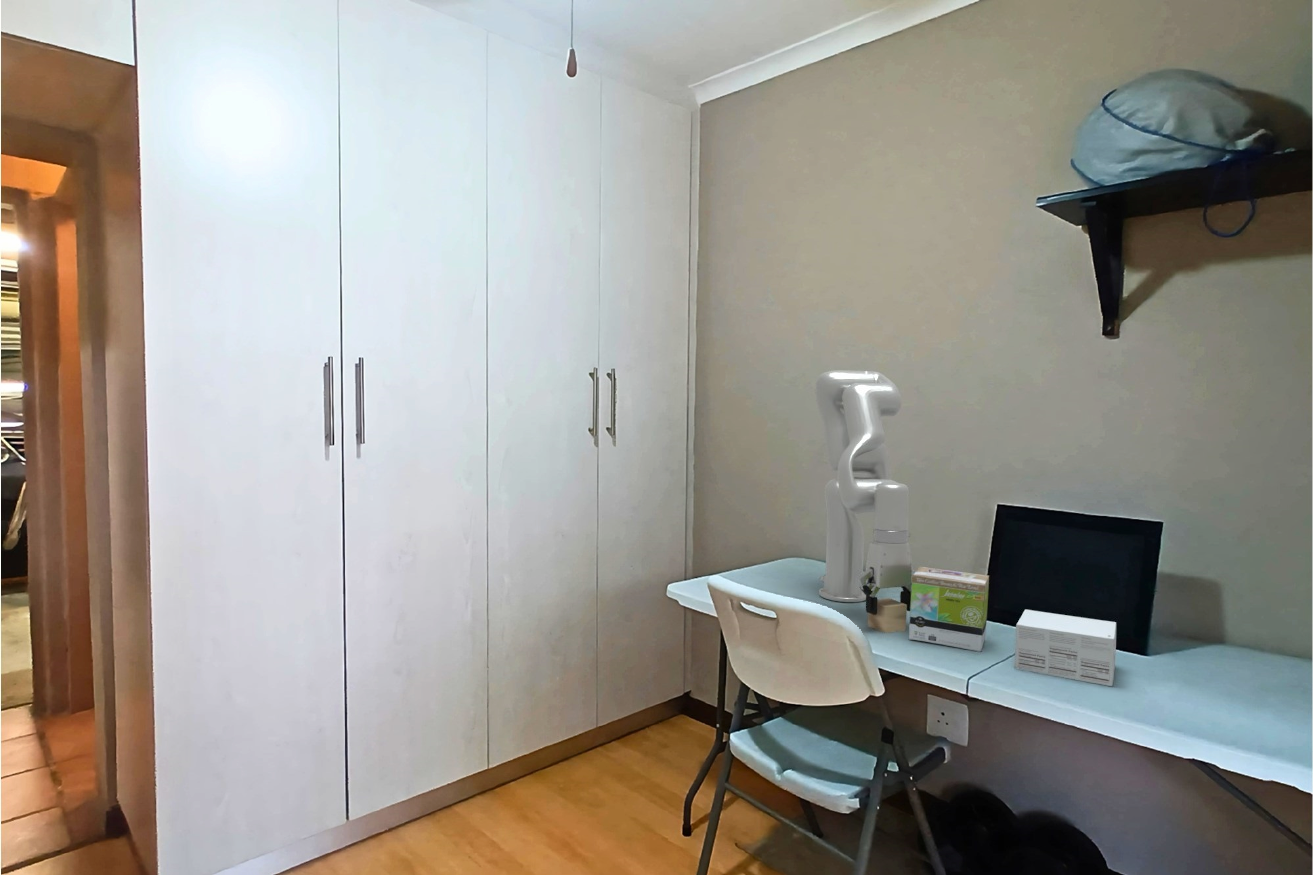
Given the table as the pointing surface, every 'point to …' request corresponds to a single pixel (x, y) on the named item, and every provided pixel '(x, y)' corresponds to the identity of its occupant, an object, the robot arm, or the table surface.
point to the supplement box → (1066, 646)
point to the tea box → (949, 608)
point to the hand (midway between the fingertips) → (888, 611)
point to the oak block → (889, 616)
